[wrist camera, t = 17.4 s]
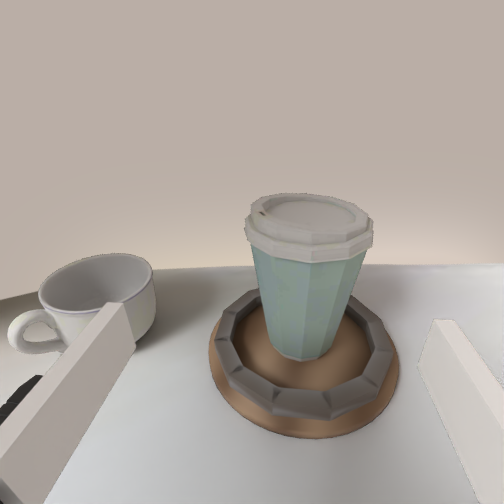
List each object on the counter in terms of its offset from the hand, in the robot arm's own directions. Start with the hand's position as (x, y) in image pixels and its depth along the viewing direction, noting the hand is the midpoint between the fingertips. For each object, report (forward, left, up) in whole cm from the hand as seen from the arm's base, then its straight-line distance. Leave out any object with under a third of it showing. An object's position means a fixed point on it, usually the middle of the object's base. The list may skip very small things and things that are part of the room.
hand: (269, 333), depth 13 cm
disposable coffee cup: (+2, +14, -14) cm, 19 cm away
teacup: (-20, +13, -15) cm, 28 cm away
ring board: (+2, +14, -15) cm, 20 cm away
